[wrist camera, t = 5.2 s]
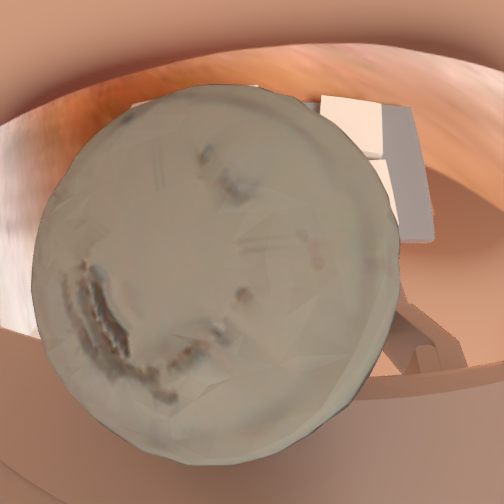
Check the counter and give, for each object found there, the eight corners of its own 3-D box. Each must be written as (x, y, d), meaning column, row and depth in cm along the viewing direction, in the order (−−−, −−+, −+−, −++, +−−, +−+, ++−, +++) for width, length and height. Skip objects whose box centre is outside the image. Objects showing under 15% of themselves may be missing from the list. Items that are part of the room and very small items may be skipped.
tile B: (316, 152, 23) (316, 144, 22) (321, 103, 24) (321, 95, 22) (379, 161, 22) (382, 154, 21) (378, 111, 23) (381, 103, 21)
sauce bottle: (246, 358, 22) (-1, 480, 2) (237, 274, 23) (-3, 125, 4) (337, 347, 21) (483, 515, 1) (325, 261, 22) (374, 2, 3)
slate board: (303, 242, 23) (303, 238, 22) (299, 110, 25) (299, 102, 24) (429, 243, 21) (435, 239, 20) (407, 114, 23) (410, 107, 22)
